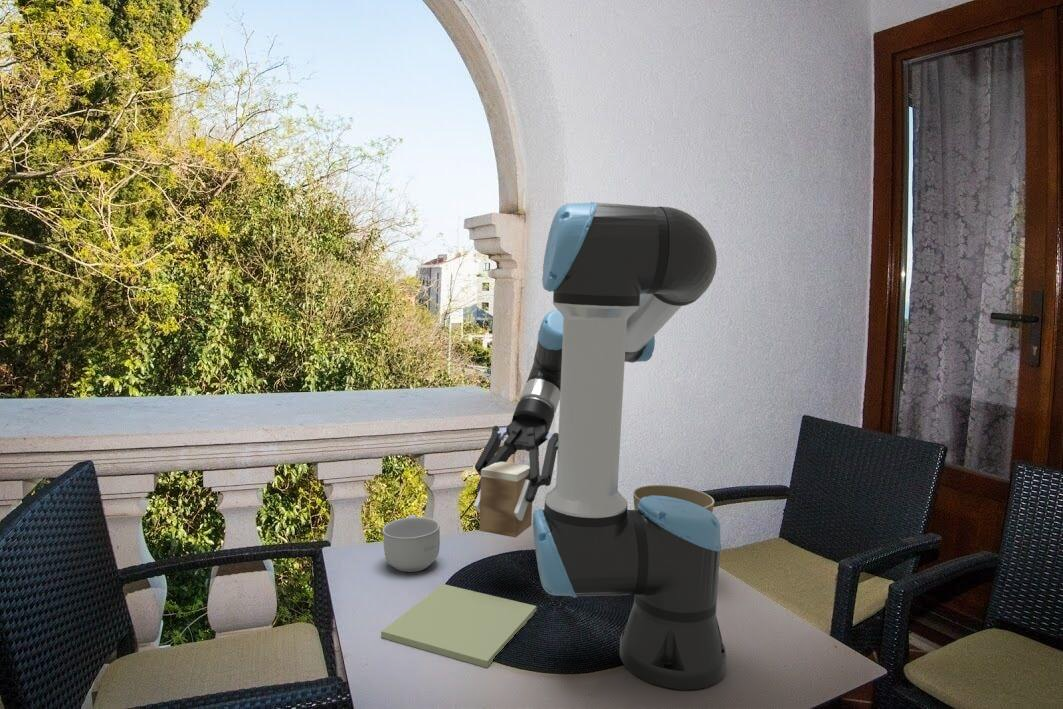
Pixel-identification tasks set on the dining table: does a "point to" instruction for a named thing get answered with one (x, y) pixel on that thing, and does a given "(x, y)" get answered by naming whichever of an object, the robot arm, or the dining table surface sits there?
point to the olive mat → (460, 624)
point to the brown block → (503, 499)
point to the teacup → (411, 543)
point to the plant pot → (674, 495)
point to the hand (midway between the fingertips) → (497, 513)
